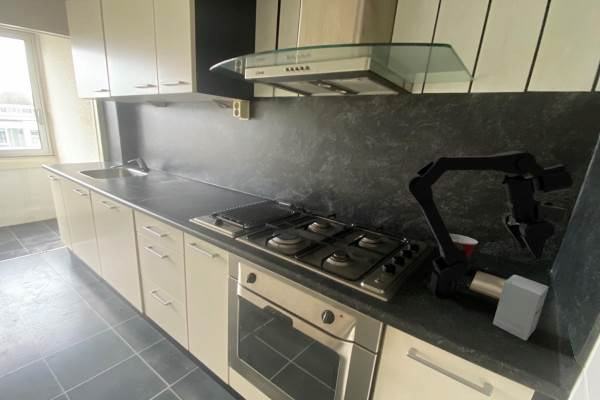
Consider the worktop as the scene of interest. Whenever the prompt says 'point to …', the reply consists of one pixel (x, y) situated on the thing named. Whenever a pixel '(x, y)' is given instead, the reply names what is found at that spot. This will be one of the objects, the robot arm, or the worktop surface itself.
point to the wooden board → (488, 284)
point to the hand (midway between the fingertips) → (530, 253)
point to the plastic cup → (464, 242)
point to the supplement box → (520, 306)
